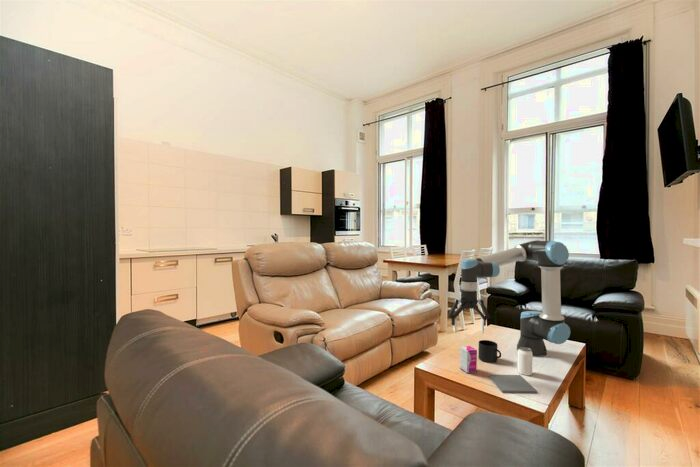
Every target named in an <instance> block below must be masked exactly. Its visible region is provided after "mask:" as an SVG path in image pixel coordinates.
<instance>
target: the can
mask: <svg viewBox="0 0 700 467" xmlns="http://www.w3.org/2000/svg"><path fill="white" fill-rule="evenodd" d="M516 365H517V369H516V370H517V372H518V374H519V375H521V376H527V377H529V376H532V374H533V356H532V351H531V349H530V348H527V347H519V349H518V350H517V364H516Z"/></svg>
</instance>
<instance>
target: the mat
mask: <svg viewBox="0 0 700 467" xmlns="http://www.w3.org/2000/svg"><path fill="white" fill-rule="evenodd" d="M488 378H489V379H490V380H491V381H492V382H493V384H494V385H495V386H496V387H497V389H499V391H500V392H501V393H503V394H504V393H505V394H508V393H509V394H538V389H536V388H535V387H534V386H533V385H532V384H530V383H529V381H527V380H526V379H525V378H524V377H523V375H522V374H488Z"/></svg>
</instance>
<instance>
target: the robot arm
mask: <svg viewBox="0 0 700 467" xmlns="http://www.w3.org/2000/svg"><path fill="white" fill-rule="evenodd" d="M569 256H570V252H569V249H568V247H567V246H566V245H565V244H564V243H563V242H560V241H555V240H531V241H527V242H523V243H520V244H516V245H515V246H513V247H512V248H508V249H505V250H502V251H499V252H498V251H497V252H495V253H491V254H487V255H484V256H480V257H477V258H463V259H462V260H461V263H460V269H461V272H460V273H461V274H460V275H461V276H460V277H461V282H460V284H461V285H460V286H461V287H460V289H461V290H460V299H458V298H454V300H453V304H452V306H451V307H450V310H449V312H448V314H447V317H448V318H450V319H451V320H450V321H451V323H450V324H451V325H452V331H453V332H454V333H456V334H457V317H459V315H460V314H461V312H462V311H463V310H465V309H468V310H469V309H471V310H473V309H474V310H475V311H476V312H477V313H478V314H479V316H480V317H481V318H480V328H479V329H480V331H479V332H481V333H482V334H483V333H484V334H485V327H486V326H487V320H488V319H490V318H491V316H490V314H489V313H488V309H487V308H486V306H485V303H484V302H485V301H484V300H483V299H482V298H479V299H478V279H479V278H480V279H481V278H491V279H492V278H495V277H498V276H500V271H501V269H500V267H501V266H505V265H508V264H512V263H515V262H516V263H517V262H525V261H527V262H528V261H534V262H537V267H538V268H540V271H541V273H540V274H541V275H540V276H541V277H540V278H541V311H538V310H537V311H535V310H525V311H522V312H521V313H520V318H519V319H520V321H519V322H520V332H519V333H520V337H519V339H518V341H517V344H516V350H517V351H518V349H519V347H527V348H530V349H531V351H532V357H544V356H546V355H547V352H548V351H547V347H546V344H545V342H544V341H547V342H549V343H550V344H551V343H552V344H555V345H562V344H564V343H566V342H567V340H568V339H569V338H570V335H571V327H570V326H569V325H568V324H567V323H565V319H566V318H565V317H564V316H563V315H562V307H561V306H562V300H561V299H562V298H561V270H562V269H563V268H564V264H566V263H567V262H568V260H569ZM460 303H461V304H460ZM459 304H460V305H459ZM478 304H479V306H480V307H481V309H482V311H481V310H480V308H479V307H478V306H477V305H478ZM458 305H459V307H458ZM457 307H458V308H457Z"/></svg>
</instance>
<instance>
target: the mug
mask: <svg viewBox="0 0 700 467" xmlns="http://www.w3.org/2000/svg"><path fill="white" fill-rule="evenodd" d="M498 354H499V355H498ZM501 357H502V353H501V351H500V350H499V349H498V343H497V342H495V341H492V340H487V339H482V340H479V341H478V354H477V359H479V360H480V361H481V362H484V363H489V364H491V363H492V364H493V363H497V362H498V359H500V358H501Z"/></svg>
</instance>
